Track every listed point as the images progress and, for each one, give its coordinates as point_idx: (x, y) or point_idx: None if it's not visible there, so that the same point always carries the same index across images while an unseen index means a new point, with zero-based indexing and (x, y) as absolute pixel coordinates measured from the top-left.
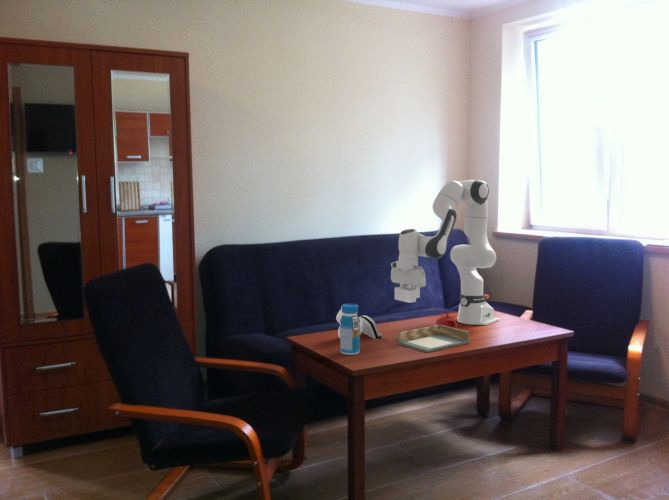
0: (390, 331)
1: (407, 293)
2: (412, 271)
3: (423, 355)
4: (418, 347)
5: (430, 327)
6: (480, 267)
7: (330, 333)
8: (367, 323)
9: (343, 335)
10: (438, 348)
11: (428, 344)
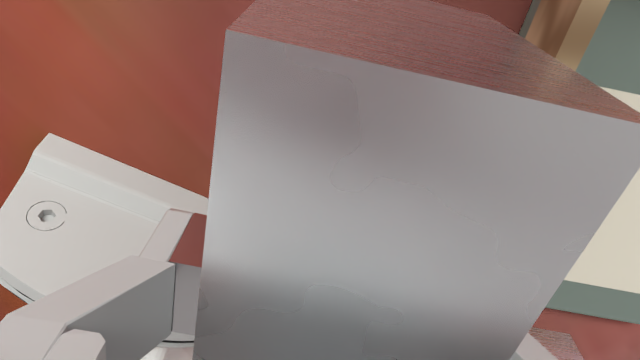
0: (178, 62)
1: None
2: None
3: (627, 351)
4: (576, 309)
5: (580, 56)
6: None
7: (3, 308)
8: (186, 347)
9: None
10: None
11: (615, 244)
